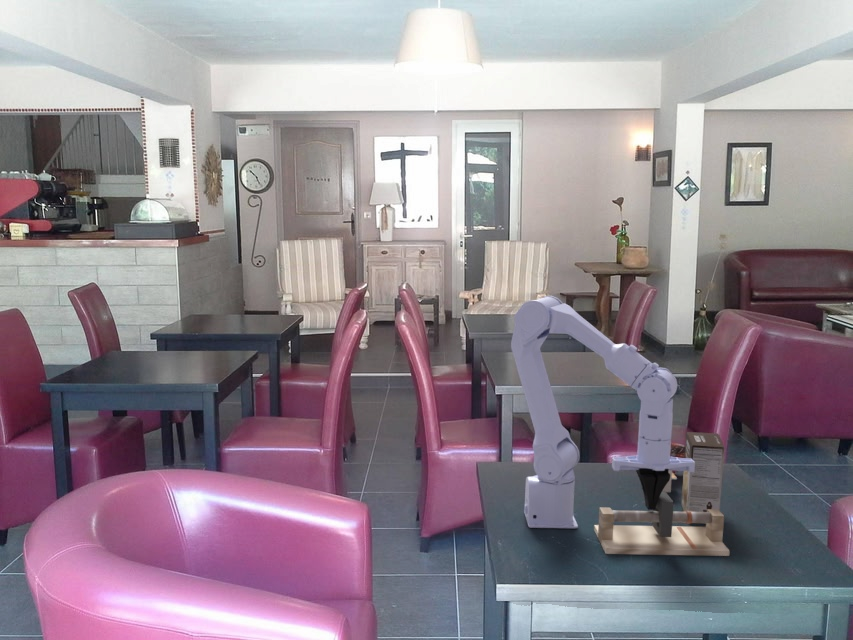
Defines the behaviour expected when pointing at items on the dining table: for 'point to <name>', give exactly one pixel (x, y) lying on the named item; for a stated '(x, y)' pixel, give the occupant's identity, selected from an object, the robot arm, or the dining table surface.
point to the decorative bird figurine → (677, 451)
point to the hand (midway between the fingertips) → (650, 507)
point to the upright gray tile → (664, 515)
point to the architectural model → (668, 485)
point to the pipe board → (648, 539)
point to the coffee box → (703, 472)
